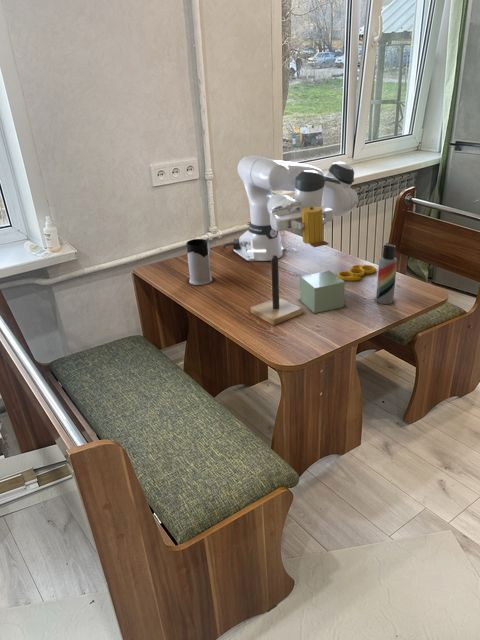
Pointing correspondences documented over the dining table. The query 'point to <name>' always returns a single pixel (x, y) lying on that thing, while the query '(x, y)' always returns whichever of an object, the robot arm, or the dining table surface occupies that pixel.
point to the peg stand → (275, 302)
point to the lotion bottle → (386, 275)
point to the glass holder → (199, 261)
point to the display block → (322, 291)
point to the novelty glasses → (356, 276)
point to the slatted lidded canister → (313, 226)
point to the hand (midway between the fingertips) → (313, 224)
